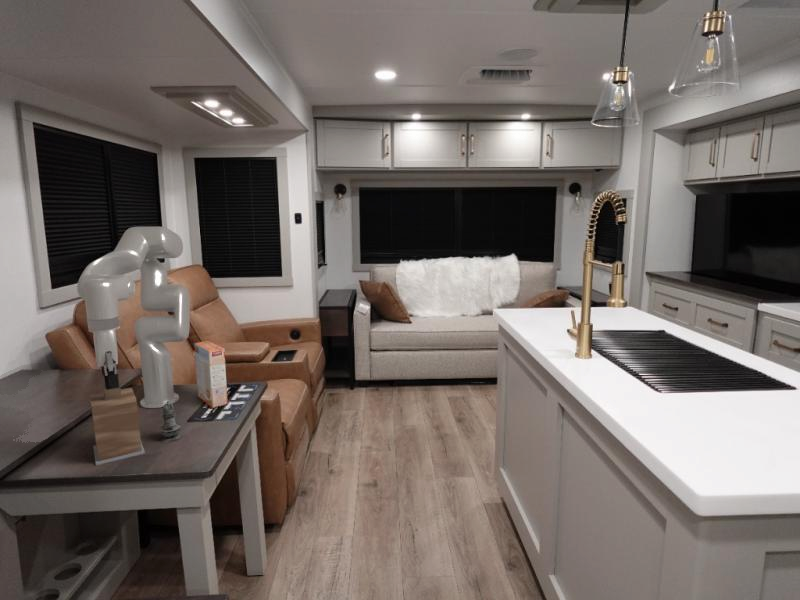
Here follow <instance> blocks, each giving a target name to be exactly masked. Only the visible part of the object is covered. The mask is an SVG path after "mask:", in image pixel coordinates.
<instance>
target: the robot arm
mask: <svg viewBox="0 0 800 600" xmlns="http://www.w3.org/2000/svg"><path fill="white" fill-rule="evenodd" d="M183 250H184V242H183V239H182V238H181V236H180V235H179V234H177V233H176V232H175V231H173V230H171V229H169V228H167V227H163V226H132V227H129V228H128V229H126V230H125V231H124V233H123V234H122V236H121V238H120V239H119V241H118V243H117V245H116V247H115V248H114V250H113V251H110V252H108V253H106V254H105V255H103V256H100V257H99V258H97V259H95V260H93V261H92V262H90V263H88V265H86V267H85V269H84V270H83V271H82V273H81V275H80V277H79V279H78V281H77V285H76V286H77V288H76V291H77V294H78V296H79V297H80V298H81V299H83V301H84V303H85V312H86V322H87V327H88V332H90V333H93V336H92V337H93V345H94V356H95V363H96V366H97V368H99V369H100V368H101V373H102V375H101V376H104V379H105V388H106V389H107V390H108V389H114V388H118V387H119V380H118V375H119V373H118V371H117V365H118V364H119V358H118V357H119V356H118V354H119V352H118V343H117V341H118V339H117V331H116V330H118V329H120V328H121V325H120V324H121V323H120V315H119V305H118V302H122V301H123V302H124V301H126V300H129V299H131V298H132V297H133V296H134V294H135V292H136V282H135V280H134V279H133V277H131V276H129V275H127V274H129V273H133V272H135V271H136V270H138V269H139V272H140V295H139V296H140V297H139V298H140V300H139V301H140V307H141V309H142V310H143V311H145V312H150V313H157V312H158V313H162V312H164V313H165V312H168V313H170V312H173V313H174V314H167V315H166V314H165V315H164V314H163V315H162V314H160V315H159V314H157V315H154V314H153V315H144V316H142V317H139V318H138V319H137V320H136V321H135V323H134V326H133V331H134V335H135V338H136V341H137V346H138V351H139V357H140V366H141V376H142V384H143V385H142V386H143V392H144V393H143V394H144V397H143V398H142V399H141V400H140V402H139V403H140V405H139V406H141V407H142V408H145V409H157V408H160V409H161V408H163V406H164V405H165V404H167V401H169V403H171V404H173V405H174V404H176V403H177V402H179V400H180V396H179V394H178V393H176V392H175V390H174V382H173V380H174V379H173V371H172V370H173V369H172V360H171V353H170V350H169V347H167V346H166V344H164V343H181V342H185V341H186V340H188V338H189V336H190V335H189V334H190V329H191V328H190V326H191V325H190V324H191V323H190V322H191V321H190V314H191V313H190V312H191V310H190V308H191V306H190V305H191V302H190V301H191V298H190V292H189V290H188V288H187V287H186V286H184V285H182V284H168V271H167V269H166V267H165V266H164V265H163V263H162V262H160V261H159V260H158V259H176V258H177V259H178V258H179V257H180V256H182V254H183V252H184V251H183Z"/></svg>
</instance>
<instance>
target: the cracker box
mask: <svg viewBox="0 0 800 600" xmlns="http://www.w3.org/2000/svg"><path fill="white" fill-rule="evenodd" d="M193 346H194V356H195V371H196V372H195V373H196V385H197V398H199V399H200V400H201V401H203V402H204V403H205V404H206V405H208V406H209V407H211V408H212V409H215V408H218V406H219V407H223V406H226V404H227V405H228V403H229V402H228V401H229V400H228V387H227V372H226V371H227V370H226V356H225V355H226V354H225V348H224V347H222V346H220V345H219V344H216V343H214V342H213V341H210V340H204V341H200V342H199V341H198V342H195V343H194V345H193Z"/></svg>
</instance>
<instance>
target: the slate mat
mask: <svg viewBox="0 0 800 600" xmlns="http://www.w3.org/2000/svg"><path fill="white" fill-rule="evenodd" d="M92 447H93V454H94V462H95V466H99V465H104V464H107V463H111V462H115V461H121V460H123V459H124V460H125V459H128V458H131V457H132V458H133V457H136V456H140V455H143V454H144V455H145V454H146V452H145V448H144V446H143V442H142V441H141V448H142V451H139V452H135V453H131V454H127V455H123V456H119V457H115V458H111V459H107V460H103V461H99V460H98V453H97V447H96V445H93V446H92Z"/></svg>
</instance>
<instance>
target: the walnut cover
mask: <svg viewBox="0 0 800 600" xmlns="http://www.w3.org/2000/svg"><path fill="white" fill-rule="evenodd" d="M118 380H119V387H118V388H114V389H108V390H107V389H106V388H105V379H104V376H103V375H101V382H102V390H103V391H102V392H99V393H93V394H90V395H89V399H90V406H91V416H92V423H93V430H94V431H93V432H94V438H95V446H96V447H97V453H98V460H99V461H103V460H107V459H111V458H115V457H119V456H123V455H127V454H131V453H135V452H139V451H142V448H141V442H142V440H141V430H140V419H139V414H138V413H139V411H138V403H137V396H136V395H135V393H134V389H133V387H127V388H121V381H120V376H119V374H118Z"/></svg>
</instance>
